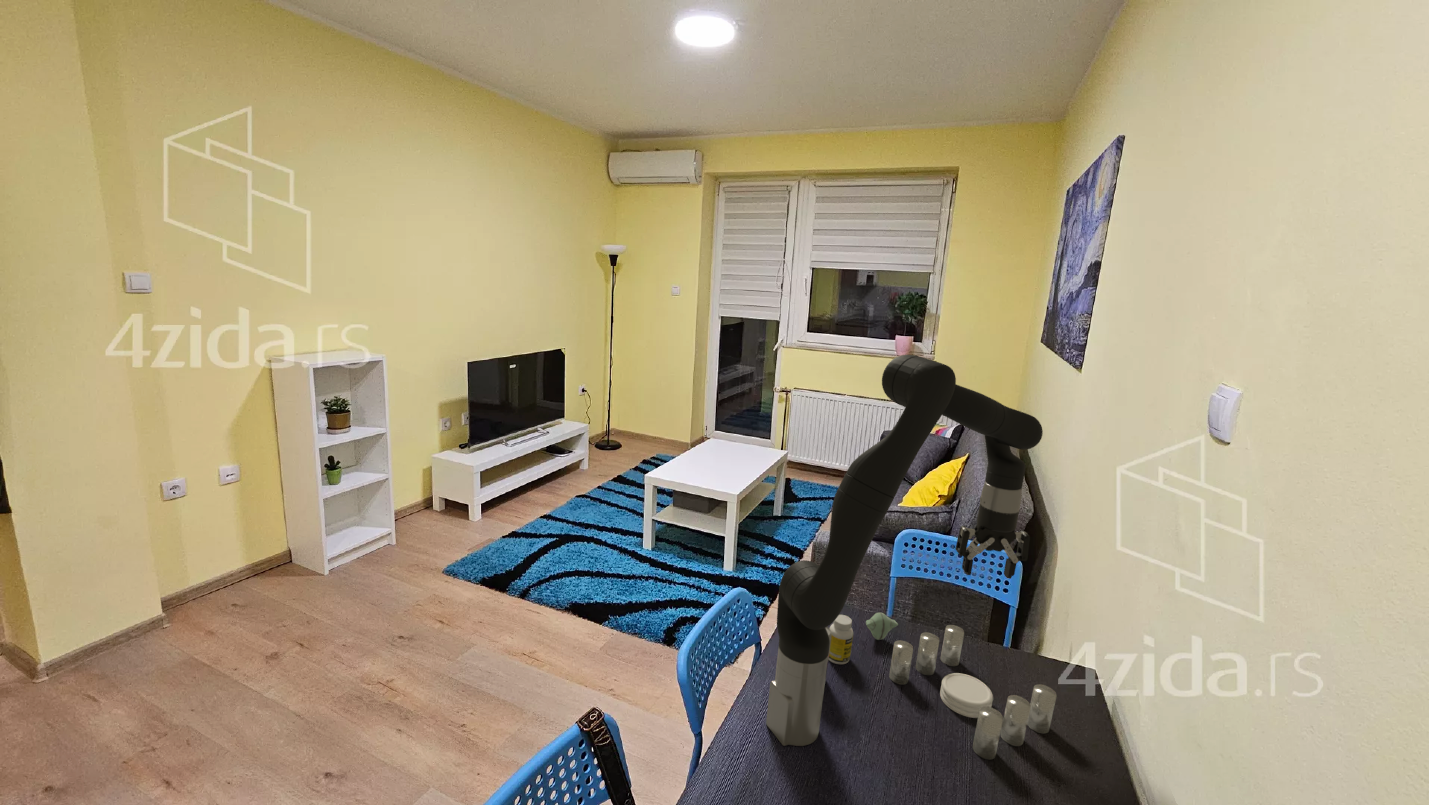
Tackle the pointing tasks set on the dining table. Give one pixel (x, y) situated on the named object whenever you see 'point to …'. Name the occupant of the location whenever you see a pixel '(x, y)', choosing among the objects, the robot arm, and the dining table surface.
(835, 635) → the supplement bottle
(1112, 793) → the dining table surface
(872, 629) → the pale green rounded piece
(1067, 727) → the dining table surface
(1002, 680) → the dining table surface
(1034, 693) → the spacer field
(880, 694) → the dining table surface
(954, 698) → the white round lidded container
